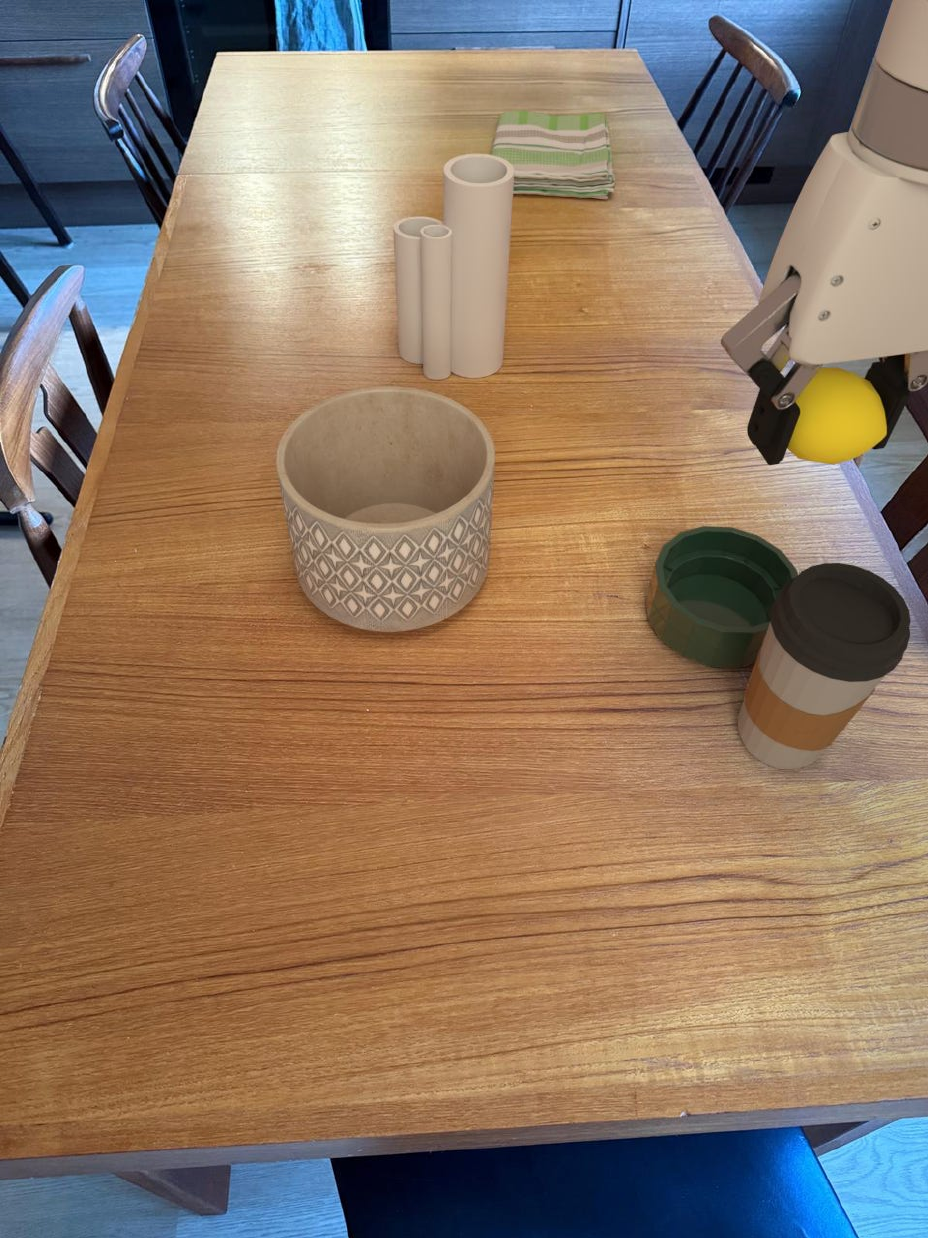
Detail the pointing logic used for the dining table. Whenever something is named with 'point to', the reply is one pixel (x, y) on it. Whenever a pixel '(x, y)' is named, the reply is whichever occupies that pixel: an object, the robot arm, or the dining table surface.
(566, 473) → the dining table surface
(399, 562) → the planter
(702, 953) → the dining table surface
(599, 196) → the dish towel
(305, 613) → the dining table surface
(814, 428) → the lemon
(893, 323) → the robot arm
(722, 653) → the bowl
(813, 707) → the coffee cup
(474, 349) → the vase
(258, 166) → the dining table surface
